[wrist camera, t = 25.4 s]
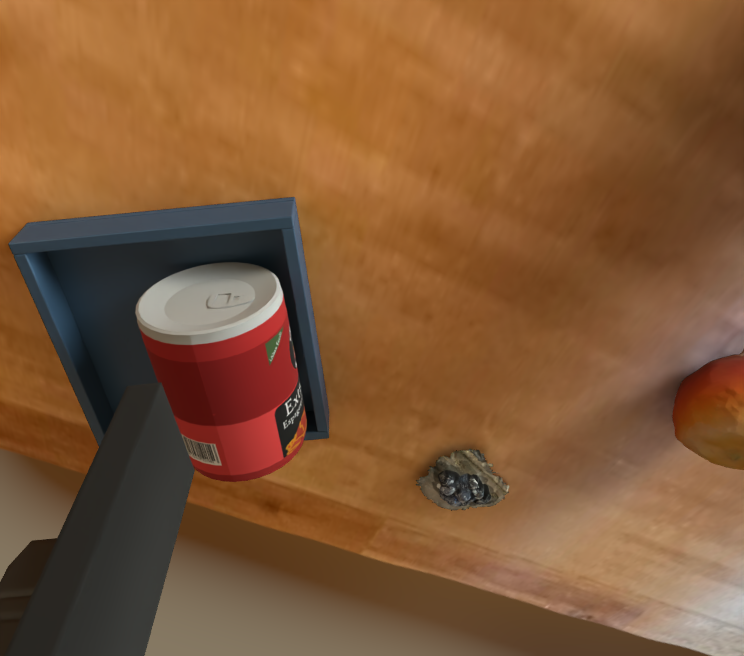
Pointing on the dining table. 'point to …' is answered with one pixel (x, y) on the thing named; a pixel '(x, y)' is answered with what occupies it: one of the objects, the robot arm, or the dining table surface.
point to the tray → (140, 272)
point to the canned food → (226, 367)
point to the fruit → (713, 412)
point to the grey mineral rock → (463, 482)
